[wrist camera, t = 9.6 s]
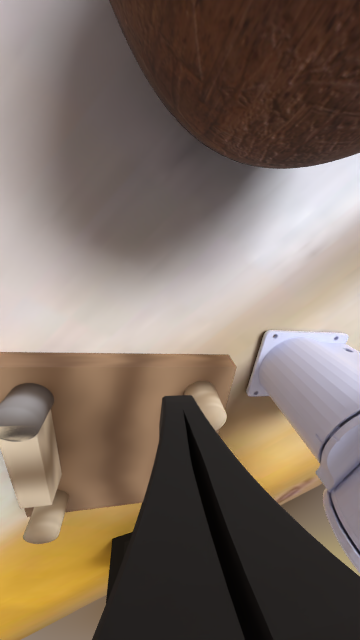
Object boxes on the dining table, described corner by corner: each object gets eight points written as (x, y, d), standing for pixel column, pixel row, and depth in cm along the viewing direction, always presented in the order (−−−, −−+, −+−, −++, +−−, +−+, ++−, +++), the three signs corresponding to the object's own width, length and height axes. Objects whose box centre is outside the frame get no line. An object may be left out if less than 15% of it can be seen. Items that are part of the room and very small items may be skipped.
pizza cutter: (4, 383, 16) (-19, 409, 13) (51, 382, 16) (36, 407, 14) (29, 477, 20) (15, 509, 18) (65, 474, 21) (56, 504, 19)
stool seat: (228, 354, 21) (252, 390, 16) (198, 478, 28) (208, 525, 24) (-3, 352, 17) (-58, 398, 12) (35, 495, 25) (11, 556, 20)
